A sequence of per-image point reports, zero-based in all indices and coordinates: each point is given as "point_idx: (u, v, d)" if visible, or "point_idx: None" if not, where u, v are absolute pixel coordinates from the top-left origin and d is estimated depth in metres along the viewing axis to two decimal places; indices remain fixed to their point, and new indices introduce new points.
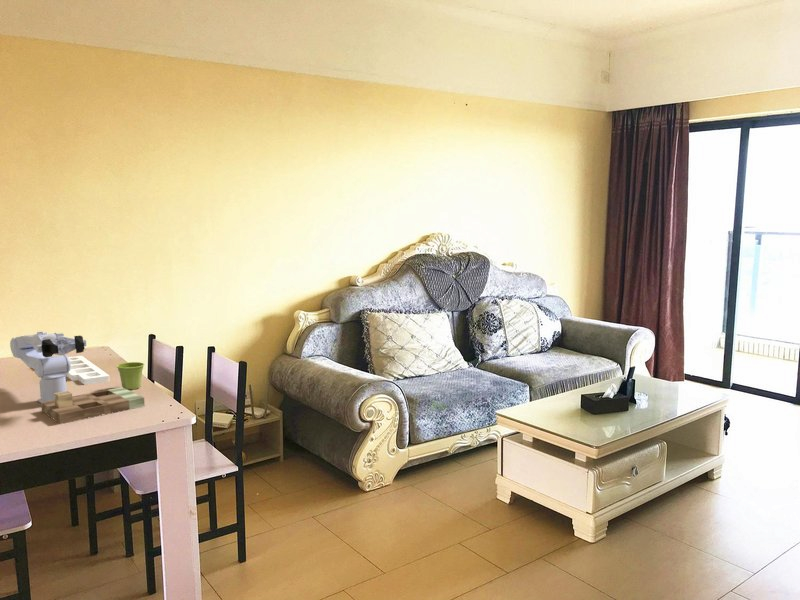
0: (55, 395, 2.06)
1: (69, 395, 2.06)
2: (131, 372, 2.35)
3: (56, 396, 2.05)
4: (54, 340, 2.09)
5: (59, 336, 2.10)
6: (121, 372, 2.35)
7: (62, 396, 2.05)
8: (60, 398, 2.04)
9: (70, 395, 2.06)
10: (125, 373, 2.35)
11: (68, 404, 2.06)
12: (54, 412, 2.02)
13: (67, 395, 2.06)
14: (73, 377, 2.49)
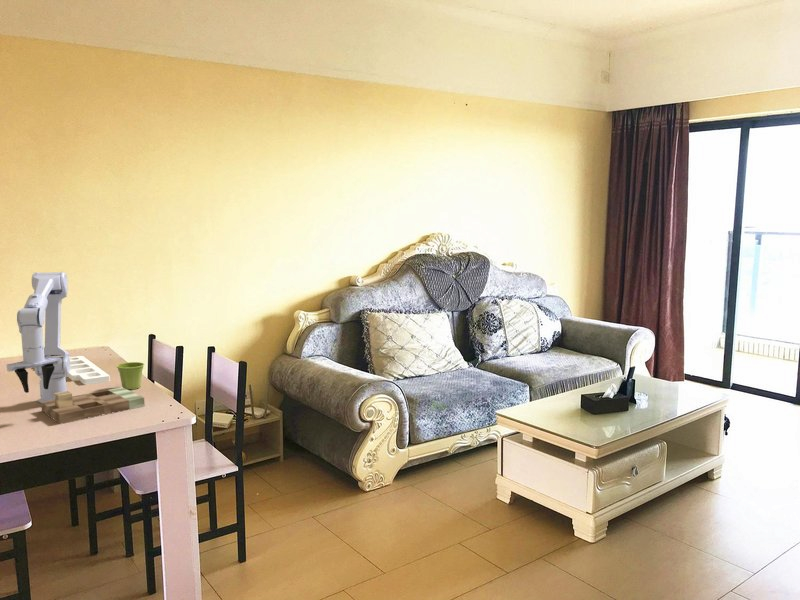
0: (55, 395, 2.06)
1: (69, 395, 2.06)
2: (131, 372, 2.35)
3: (56, 396, 2.05)
4: (29, 365, 1.97)
5: None
6: (121, 372, 2.35)
7: (62, 396, 2.05)
8: (60, 398, 2.04)
9: (70, 395, 2.06)
10: (125, 373, 2.35)
11: (68, 404, 2.06)
12: (54, 412, 2.02)
13: (67, 395, 2.06)
14: (73, 377, 2.49)
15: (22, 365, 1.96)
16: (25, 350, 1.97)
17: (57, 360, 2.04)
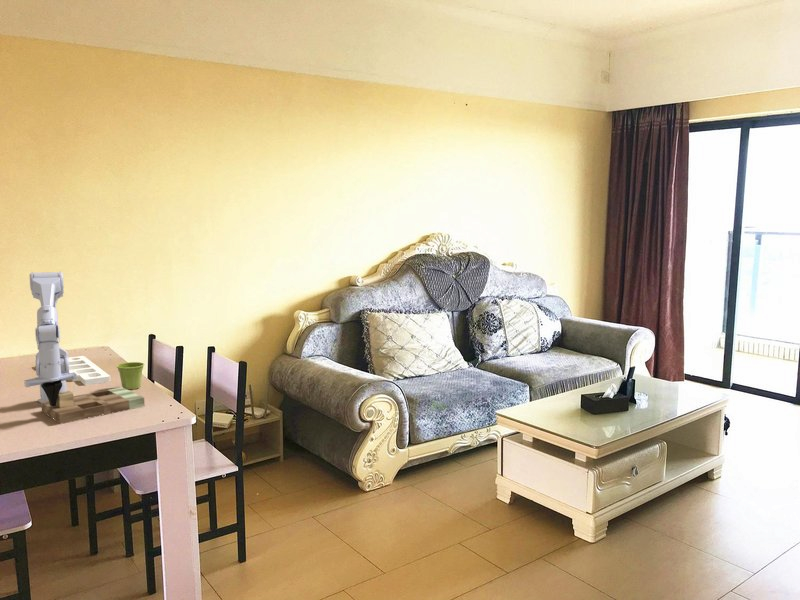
0: None
1: (70, 395, 2.06)
2: (131, 372, 2.35)
3: None
4: None
5: (53, 380, 2.01)
6: (121, 372, 2.35)
7: (63, 396, 2.05)
8: (61, 398, 2.04)
9: (71, 395, 2.06)
10: (125, 373, 2.35)
11: (69, 404, 2.06)
12: (54, 412, 2.02)
13: (68, 395, 2.06)
14: None
15: (39, 381, 2.00)
16: (42, 366, 2.00)
17: (73, 375, 2.07)
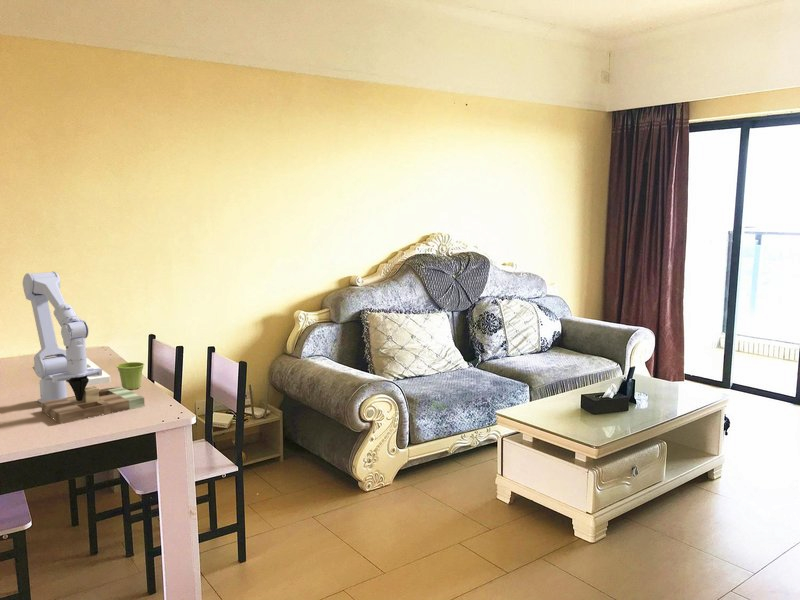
0: None
1: (96, 390, 2.12)
2: (131, 372, 2.35)
3: None
4: None
5: (79, 376, 2.07)
6: (121, 372, 2.35)
7: (89, 391, 2.10)
8: (87, 393, 2.10)
9: (97, 390, 2.12)
10: (125, 373, 2.35)
11: (95, 399, 2.12)
12: (54, 412, 2.02)
13: (94, 390, 2.11)
14: None
15: (67, 376, 2.05)
16: (69, 362, 2.06)
17: (99, 371, 2.13)
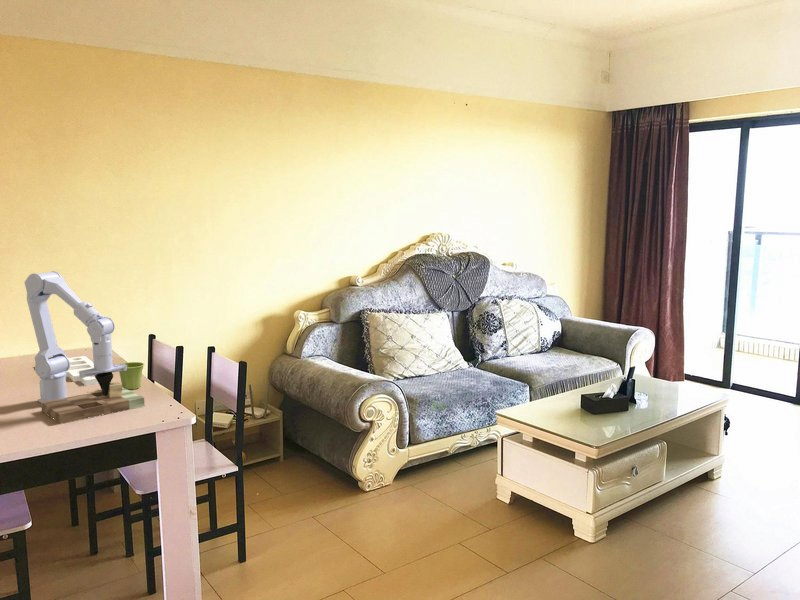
0: None
1: (119, 386, 2.17)
2: (130, 372, 2.35)
3: None
4: None
5: (106, 372, 2.12)
6: (121, 372, 2.35)
7: (113, 386, 2.15)
8: (111, 389, 2.15)
9: (120, 386, 2.17)
10: (125, 373, 2.35)
11: (118, 394, 2.17)
12: (54, 412, 2.02)
13: (118, 386, 2.16)
14: (74, 378, 2.48)
15: (93, 372, 2.11)
16: (96, 358, 2.11)
17: (124, 367, 2.18)
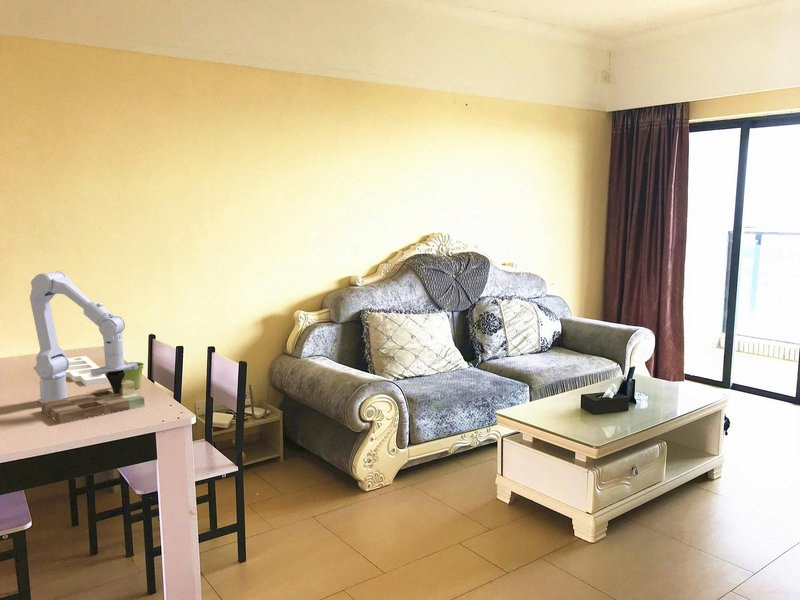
0: None
1: (132, 384, 2.20)
2: (130, 372, 2.35)
3: None
4: None
5: None
6: None
7: (126, 384, 2.18)
8: (124, 386, 2.18)
9: (133, 384, 2.20)
10: (125, 373, 2.35)
11: (131, 392, 2.20)
12: (54, 412, 2.02)
13: (130, 384, 2.19)
14: (75, 378, 2.48)
15: (105, 370, 2.13)
16: (107, 356, 2.14)
17: (134, 365, 2.21)
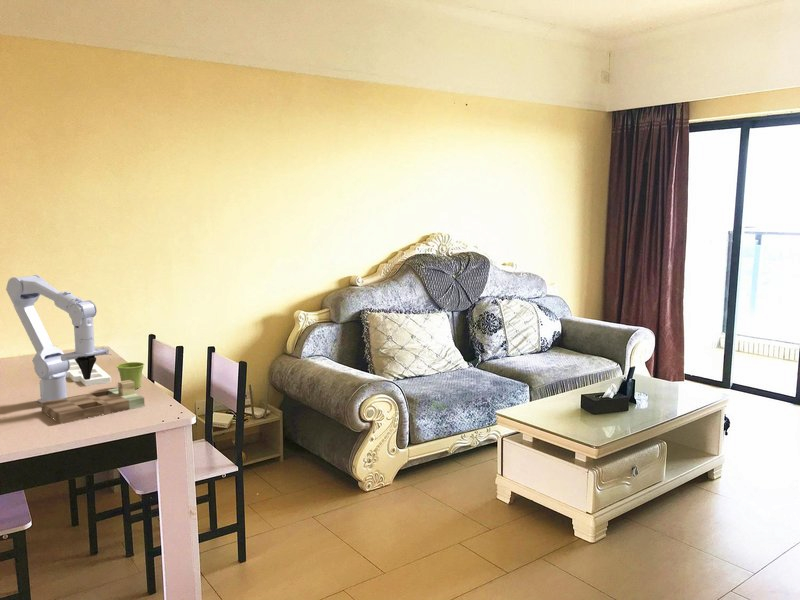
0: (119, 384, 2.19)
1: (132, 384, 2.20)
2: (131, 372, 2.35)
3: (120, 384, 2.19)
4: (81, 355, 2.11)
5: None
6: (121, 372, 2.35)
7: (126, 385, 2.18)
8: (124, 387, 2.18)
9: (133, 384, 2.20)
10: (125, 373, 2.35)
11: (131, 392, 2.20)
12: (54, 412, 2.02)
13: (130, 384, 2.19)
14: (75, 378, 2.48)
15: (75, 355, 2.10)
16: (78, 341, 2.11)
17: (106, 351, 2.18)
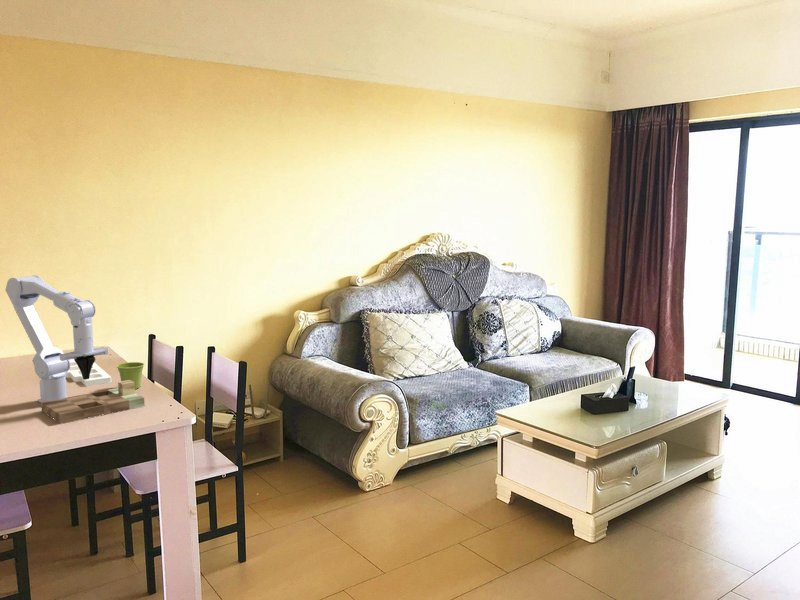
0: (119, 384, 2.19)
1: (132, 384, 2.20)
2: (131, 372, 2.35)
3: (120, 384, 2.19)
4: (80, 355, 2.11)
5: (86, 355, 2.11)
6: (121, 372, 2.35)
7: (126, 385, 2.18)
8: (124, 387, 2.18)
9: (133, 384, 2.20)
10: (125, 373, 2.35)
11: (131, 392, 2.20)
12: (54, 412, 2.02)
13: (130, 384, 2.19)
14: (75, 378, 2.48)
15: (74, 355, 2.10)
16: (76, 341, 2.11)
17: (105, 351, 2.17)
